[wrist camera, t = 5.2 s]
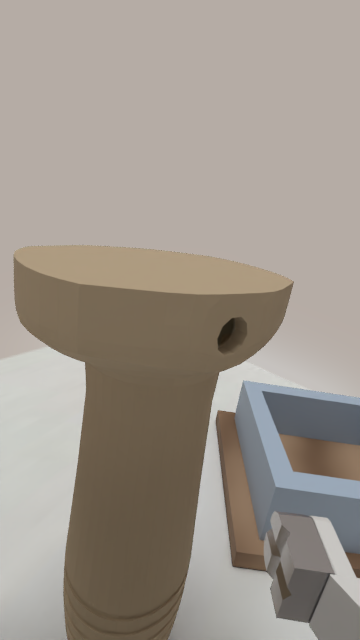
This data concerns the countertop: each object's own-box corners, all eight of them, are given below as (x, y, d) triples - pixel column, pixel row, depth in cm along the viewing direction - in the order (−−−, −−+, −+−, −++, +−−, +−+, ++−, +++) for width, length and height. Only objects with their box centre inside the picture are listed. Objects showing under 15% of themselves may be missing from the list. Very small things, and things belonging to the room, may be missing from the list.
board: (377, 444, 28) (381, 434, 27) (506, 604, 16) (515, 591, 16) (215, 420, 28) (218, 410, 27) (232, 566, 16) (236, 551, 16)
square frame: (371, 438, 27) (386, 401, 26) (477, 570, 17) (507, 520, 16) (234, 418, 27) (243, 380, 25) (259, 540, 17) (275, 486, 16)
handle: (219, 668, 12) (335, 290, 8) (43, 840, 9) (58, 300, 4) (154, 557, 16) (205, 252, 11) (9, 644, 12) (-5, 239, 7)
